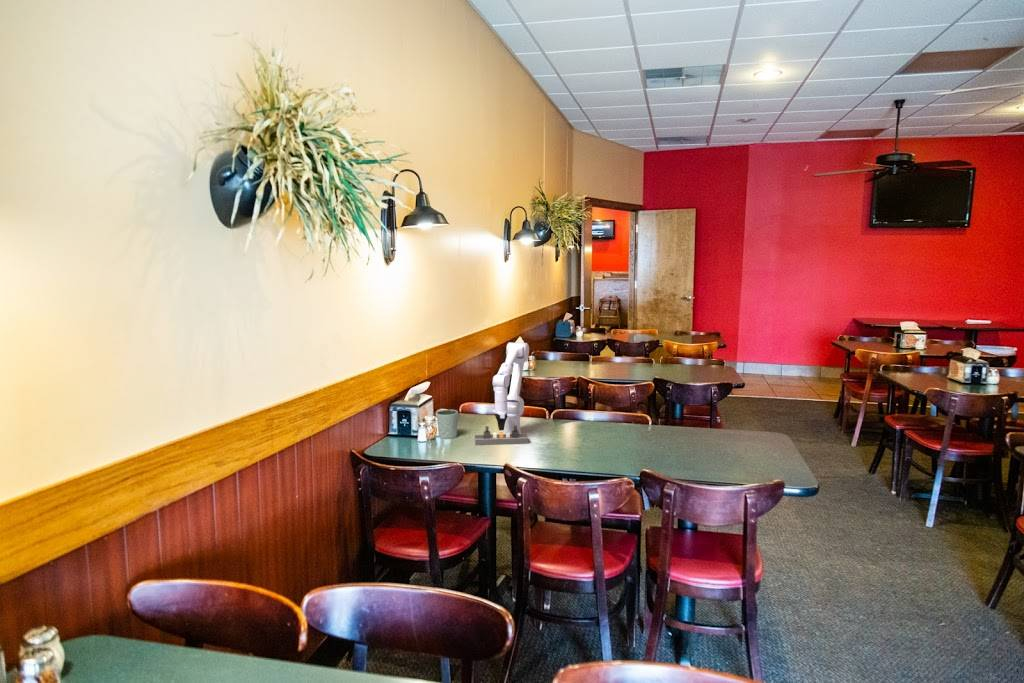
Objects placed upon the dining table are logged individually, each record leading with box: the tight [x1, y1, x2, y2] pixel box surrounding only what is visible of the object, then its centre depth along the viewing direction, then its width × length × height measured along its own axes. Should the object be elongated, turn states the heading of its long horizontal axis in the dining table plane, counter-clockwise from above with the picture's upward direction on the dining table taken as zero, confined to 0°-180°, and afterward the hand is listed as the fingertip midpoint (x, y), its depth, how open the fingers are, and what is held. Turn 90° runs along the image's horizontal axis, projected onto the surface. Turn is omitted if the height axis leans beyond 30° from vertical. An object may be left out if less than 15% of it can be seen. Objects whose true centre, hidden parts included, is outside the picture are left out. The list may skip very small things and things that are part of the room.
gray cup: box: [435, 409, 459, 440], centre depth 290 cm, size 10×10×12 cm
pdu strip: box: [474, 433, 529, 446], centre depth 281 cm, size 7×24×3 cm, turn 95°
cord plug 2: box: [512, 425, 519, 437], centre depth 281 cm, size 3×3×5 cm
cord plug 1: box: [483, 425, 492, 438], centre depth 280 cm, size 3×3×5 cm
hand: (501, 430), depth 281 cm, fingers closed
